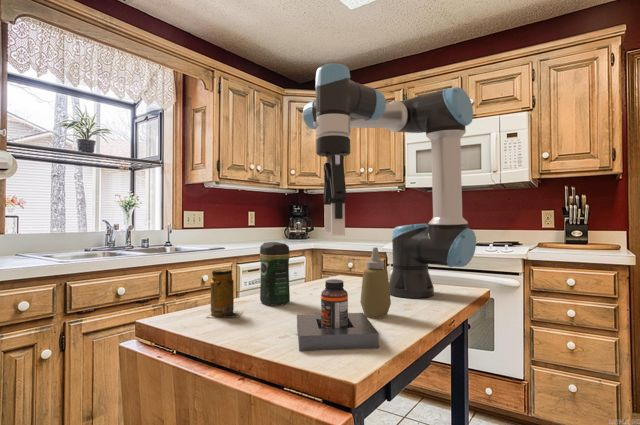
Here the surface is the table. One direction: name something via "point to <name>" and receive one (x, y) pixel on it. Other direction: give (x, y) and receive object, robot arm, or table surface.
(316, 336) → the socket block
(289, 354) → the table surface
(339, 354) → the table surface
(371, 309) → the squeeze bottle
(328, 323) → the supplement bottle
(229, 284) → the condiment
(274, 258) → the coffee jar
